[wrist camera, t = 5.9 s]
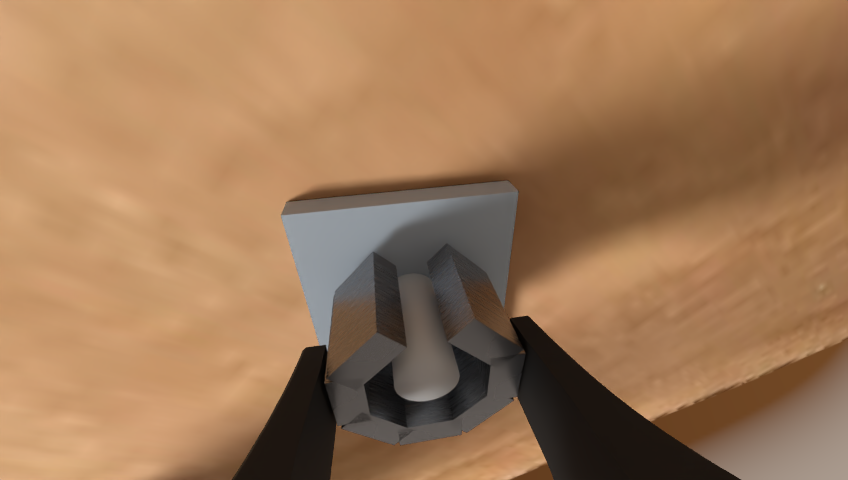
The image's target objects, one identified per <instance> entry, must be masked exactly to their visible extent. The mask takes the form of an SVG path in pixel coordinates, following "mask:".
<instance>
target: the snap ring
mask: <svg viewBox="0 0 848 480" xmlns="http://www.w3.org/2000/svg"><path fill="white" fill-rule="evenodd" d="M427 266H428V269H429V273H430V277H431V281H432V285H433V289H434V292H435V296H436V300H437V304H438V308H439V311H440V315H441V319H442V323H443V327H444V331H445V334H446V338H447V342H449V343H451V345H452V348H453V352H454V356H455V359H456V363H457V366H458V370H459V373H460V377H459V381H458V383H457V385H456V386H455V387H454V388H453V389H452V390H451V391H450V392H449V393H447V394H446V395H444V396H442V397H439V398H437V399H433V400H429V401H411V400H407V399H405V398H402V397H401V396H399V395H398V394H397V392H396V391H395V388H394V380H393V369H392V360H393V359H394V358H395V357H397V356H398V355H399V354H400V353H401V352H402V351H404V350H405V349H406V348H407V343H406V336H405V328H404V321H403V313H402V306H401V299H400V291H399V284H398V276H397V269H396V265H394V264H392V263H391V262H389V261H388V260H386V259H385V258H383V257H381V256H380V255H378V254H377V253H375V252H372V253H371V254H370V255H369V256H368V257H367V258H366V259H365V260H364V261H363V262H362V263H361V264H360V265H359V266H358V267H357V268H356V269H355V271H354V272H353V273H352V274H351V275H350V276H349V277H348V278H347V279H346V280H345V281H344V282H343V283H342V284H341V285H340V286H339V287H338V288H337V289H336V290H335V295H334V297H333V307H332V316H331V326H330V335H329V345H328V354H327V364H326V373H325V383H324V384H325V387H326V390H327V393H328V396H329V400H330V403H331V406H332V409H333V412H334V415H335V419H336V422H337V425H338V426H340V425H342V428H341V429H344V430H347V431H350V432H353V433H357V434H360V435H363V436H366V437H369V438H373V439H376V440H379V441H382V442H386V443H389V444H392V445H395V444H396V443H398V442H400V445H405V444H411V443H417V442H422V441H428V440H434V439H440V438H446V437H451V436H457V435H461V434H462V431H464V432H469V431H470V430H471V429H473V428H474V427H476V426H477V425H479V424H480V423H482V422H483V421H485V420H486V419H488V418H489V417H490V416H492V415H493V414H495V413H496V412H498V411H499V410H501V409H502V408H504V407H505V406H506V405H508V404H509V403H511V402H512V401H514V399H513V397H517V394H518V389H519V384H520V379H521V374H522V369H523V364H524V359H525V354H526V353H525V351H524V349H523V347H522V345H521V343H520V340H519V338H518V336H517V334H516V332H515V330H514V328H513V326H512V324H511V322H510V320H509V318H508V316H507V314H506V312H505V310H504V308H503V306H502V303H501V301H500V299H499V297H498V295H497V293H496V291H495V289H494V287H493V285H492V283H491V281H490V279H489V277H488V275H487V273H486V272H485V271H484V270H482V269H481V268H480V267H478V266H477V265H476V264H474V263H473V262H472V261H470V260H469V259H468V258H466V257H465V256H464V255H462V254H461V253H459V252H458V251H457V250H455V249H454V248H453V247H451V246H450V245H449V244H447V243H446V244H445V245H444V246H443V247H442V248H441V249H440V250H439V251H438V252H437V253H436V254H435V255H434V256H433V257H432V258H431V259H430V260H428V261H427Z"/></svg>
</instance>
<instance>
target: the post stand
mask: <svg viewBox="0 0 848 480" xmlns="http://www.w3.org/2000/svg"><path fill="white" fill-rule="evenodd" d="M518 193H519V191H518V190H517V189H516V188H515V187H514V186H513V185H512V184H511V183H510V182H509V181H508V180H507V181H497V182H486V183H476V184H466V185H456V186H445V187H435V188H425V189H414V190H404V191H394V192H383V193H373V194H363V195H352V196H342V197H332V198H322V199H311V200H301V201H291V202H286V204H285V207H284V209H283V211H282V214H281V218H282V221H283V224H284V228H285V231H286V235H287V238H288V241H289V245H290V248H291V251H292V255H293V258H294V261H295V265H296V268H297V271H298V275H299V278H300V281H301V285H302V288H303V291H304V295H305V298H306V301H307V305H308V308H309V311H310V315H311V318H312V322H313V325H314V328H315V332H316V335H317V338H318V342H319V345H320V346H321V345H326V347H327V351H328V345H329V335H330V326H331V316H332V307H333V297H334V295H335V290H336V289H337V288H338V287H339V286H340V285H341V284H342V283H343V282H344V281H345V280H346V279H347V278H348V277H349V276H350V275H351V274H352V273H353V272H354V271H355V269H356V268H357V267H358V266H359V265H360V264H361V263H362V262H363V261H364V260H365V259H366V258H367V257H368V256H369V255H370V254H371V253H372V252H375V253H377V254H378V255H380V256H381V257H383V258H385V259H386V260H388V261H389V262H391V263H392V264H394V265H396V269H397V276H398V284H399V291H400V299H401V306H402V313H403V321H404V328H405V336H406V343H407V348H406V349H405V350H404V351H402V352H401V353H400V354H399V355H398V356H397V357H395V358H394V359H393V360H392V369H393V380H394V388H395V391H396V392H397V394H398V395H399V396H401V397H402V398H405V399H407V400H411V401H429V400H433V399H437V398H439V397H442V396H444V395H446V394H447V393H449V392H450V391H451V390H452V389H453V388H454V387H455V386H456V385H457V383H458V381H459V377H460V373H459V370H458V366H457V363H456V359H455V356H454V352H453V348H452V345H451V343H449V342H447V338H446V334H445V331H444V327H443V323H442V319H441V315H440V311H439V308H438V304H437V300H436V296H435V292H434V289H433V285H432V281H431V277H430V273H429V269H428V266H427V261H428V260H430V259H431V258H432V257H433V256H434V255H435V254H436V253H437V252H438V251H439V250H440V249H441V248H442V247H443V246H444V245H445V244H446V243H447V244H449V245H450V246H451V247H453V248H454V249H455V250H457V251H458V252H459V253H461V254H462V255H464V256H465V257H466V258H468V259H469V260H470V261H472V262H473V263H474V264H476V265H477V266H478V267H480V268H481V269H482V270H484V271H485V272H486V273H487V275H488V277H489V279H490V281H491V283H492V285H493V287H494V289H495V291H496V293H497V295H498V297H499V299H500V301H501V303H502V306H503V308H504V304H505V296H506V288H507V280H508V272H509V264H510V256H511V248H512V240H513V233H514V225H515V217H516V209H517V201H518Z"/></svg>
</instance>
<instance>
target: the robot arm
mask: <svg viewBox="0 0 848 480" xmlns="http://www.w3.org/2000/svg"><path fill="white" fill-rule="evenodd" d="M510 322H511V324H512V326H513V328H514V330H515V332H516V334H517V336H518V338H519V340H520V343H521V345H522V347H523V349H524V351H525V353H526V354H525V359H524V364H523V369H522V374H521V379H520V384H519V389H518V394H517V397H518V399H519V402H520V404H521V406H522V408H523V410H524V413H525V415H526V417H527V419H528V421H529V424H530V426H531V428H532V430H533V432H534V434H535V437H536V439H537V441H538V443H539V445H540V448H541V450H542V452H543V454H544V456H545V459H546V461H547V463H548V466H549V468H550V470H551V473H552V475H553V479H554V480H741V479H739V478H737V477H736V476H734V475H732V474H731V473H729V472H727V471H726V470H724V469H722V468H720V467H719V466H717V465H715V464H714V463H712V462H711V461H709V460H707V459H705V458H704V457H702V456H701V455H700V454H698V453H696V452H695V451H693V450H692V449H690V448H688V447H687V446H685V445H684V444H682V443H681V442H679V441H678V440H676V439H675V438H673V437H672V436H670V435H669V434H667V433H666V432H664V431H663V430H661V429H660V428H658V427H657V426H655V425H654V424H653V423H651V422H650V421H648V420H647V419H646V418H644V417H643V416H642V415H640V414H639V413H638V412H636V411H635V410H633V409H632V408H631V407H629V406H628V405H627V404H626V403H624V402H623V401H622V400H620V399H619V398H618V397H617V396H615V395H614V394H613V393H612V392H610V391H609V390H608V389H607V388H606V387H604V386H603V385H602V384H601V383H600V382H598V381H597V380H596V379H595V378H594V377H593V376H591V375H590V374H589V373H588V372H587V371H586V370H585V369H583V368H582V367H581V366H580V365H579V364H578V363H577V362H576V361H575V360H573V359H572V358H571V357H570V356H569V355H568V354H567V353H566V352H565V351H564V350H563V349H562V348H561V347H559V346H558V345H557V344H556V343H555V342H554V341H553V340H552V339H551V338H550V337H549V336H548V335H547V334H546V333H545V332H544V331H543V330H542V329H541V328H540V327H539V326H538V325H537V324H536V323H535V322H534V321H533V320H532V319H531V318H530V317H528V316H523V317H516V318H510ZM327 354H328V351H327V347H326V345H321V346H314V347H307V348H305V349H304V350H303V351H302V354H301V356H300V358H299V361H298V363H297V365H296V367H295V369H294V372H293V374H292V376H291V378H290V380H289V382H288V384H287V386H286V388H285V390H284V392H283V394H282V396H281V398H280V400H279V401H278V403H277V405H276V407H275V409H274V411H273V413H272V414H271V416H270V418H269V420H268V422H267V423H266V425H265V427H264V429H263V430H262V432H261V434H260V435H259V437H258V439H257V440H256V442H255V444H254V445H253V447H252V449H251V450H250V452H249V454H248V455H247V457H246V459H245V460H244V462H243V463H242V465H241V466H240V468H239V469H238V471H237V473H236V474H235V476H234V477H233V479H232V480H330V475H331V466H332V458H333V449H334V440H335V432H336V419H335V415H334V412H333V409H332V406H331V403H330V400H329V396H328V393H327V390H326V387H325V384H324V383H325V373H326V364H327Z"/></svg>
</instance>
